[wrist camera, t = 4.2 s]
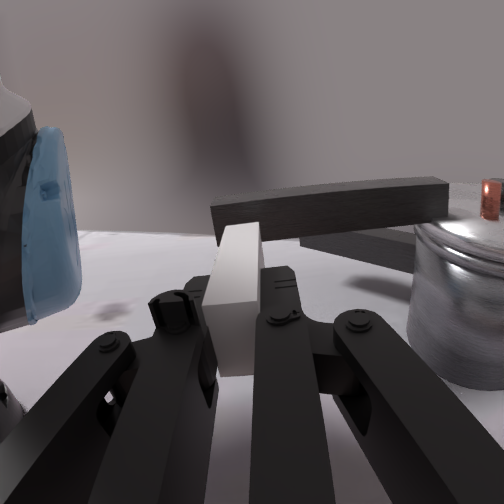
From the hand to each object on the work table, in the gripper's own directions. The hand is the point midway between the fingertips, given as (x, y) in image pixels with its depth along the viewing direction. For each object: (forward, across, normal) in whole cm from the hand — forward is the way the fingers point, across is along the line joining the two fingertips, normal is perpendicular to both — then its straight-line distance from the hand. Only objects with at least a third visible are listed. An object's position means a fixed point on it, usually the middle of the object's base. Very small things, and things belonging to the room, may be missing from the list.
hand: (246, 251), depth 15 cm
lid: (+7, +15, -3) cm, 17 cm away
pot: (+10, +17, -14) cm, 24 cm away
